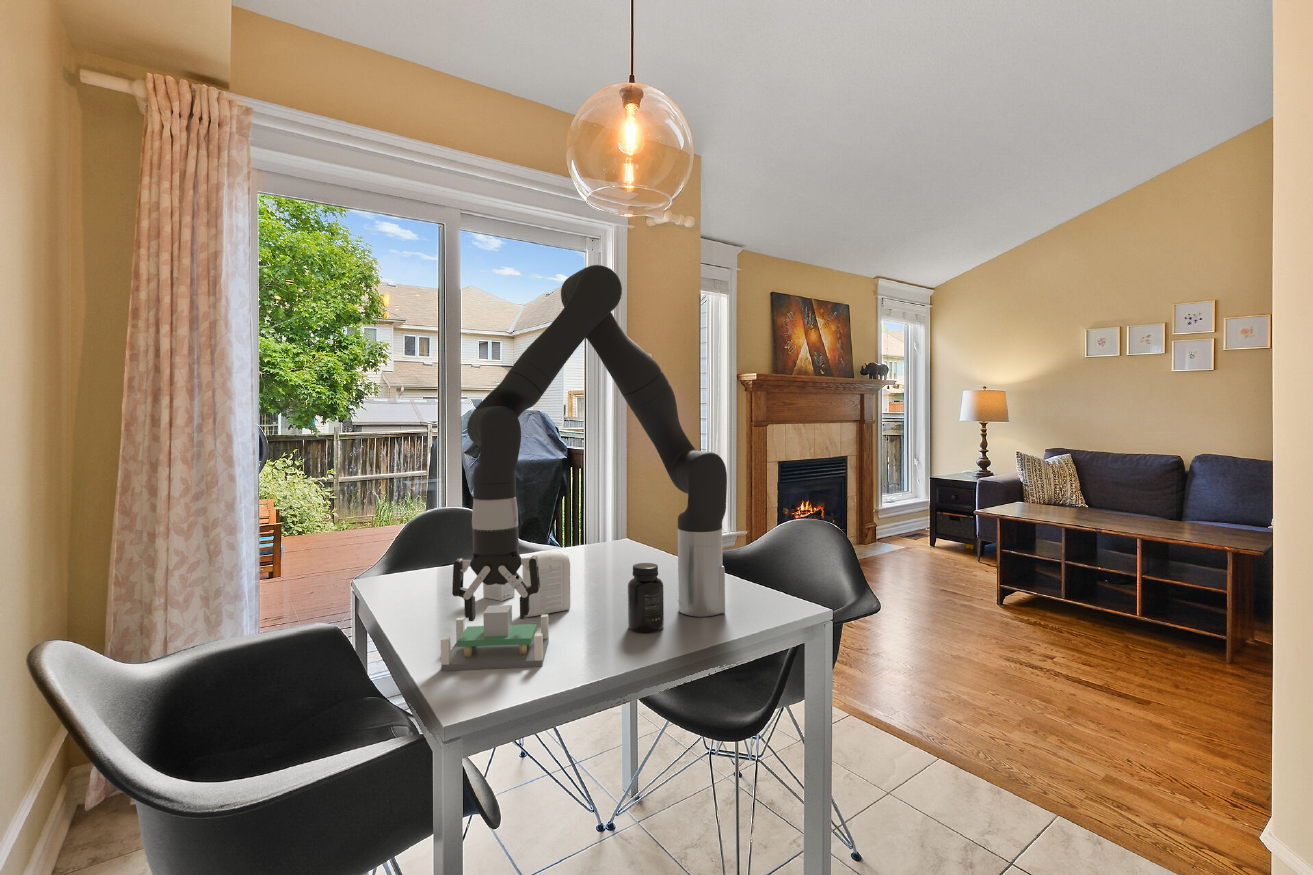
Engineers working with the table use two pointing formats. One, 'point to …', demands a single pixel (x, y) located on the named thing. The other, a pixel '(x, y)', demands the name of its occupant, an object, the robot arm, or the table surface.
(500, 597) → the skincare box
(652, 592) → the supplement bottle
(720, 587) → the robot arm
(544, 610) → the white rounded block
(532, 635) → the module board
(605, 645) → the table surface
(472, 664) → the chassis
